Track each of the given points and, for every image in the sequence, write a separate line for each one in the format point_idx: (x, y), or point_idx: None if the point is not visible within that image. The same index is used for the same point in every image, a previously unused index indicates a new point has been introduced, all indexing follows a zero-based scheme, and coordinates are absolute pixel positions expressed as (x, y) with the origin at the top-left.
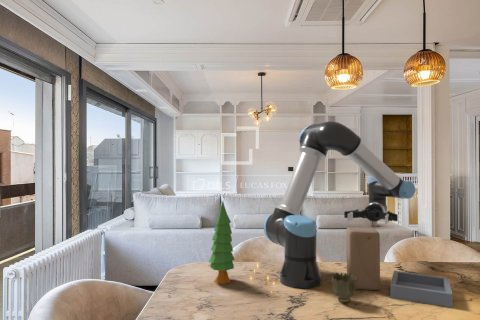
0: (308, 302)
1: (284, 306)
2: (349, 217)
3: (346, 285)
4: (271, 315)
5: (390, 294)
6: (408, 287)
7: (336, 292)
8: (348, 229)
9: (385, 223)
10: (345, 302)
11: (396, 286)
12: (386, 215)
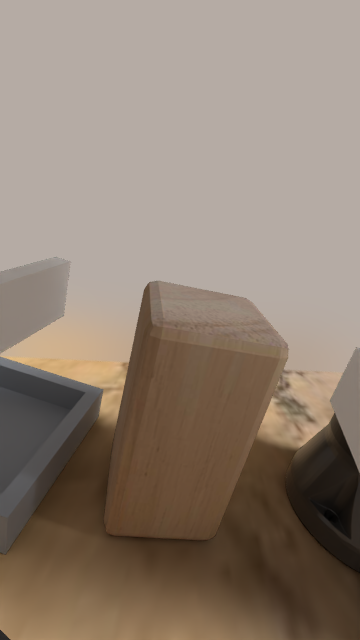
0: None
1: (296, 388)
2: (345, 372)
3: None
4: (296, 370)
5: (99, 409)
6: (60, 377)
7: None
8: (267, 321)
9: (61, 313)
10: None
11: (88, 385)
12: (27, 271)
